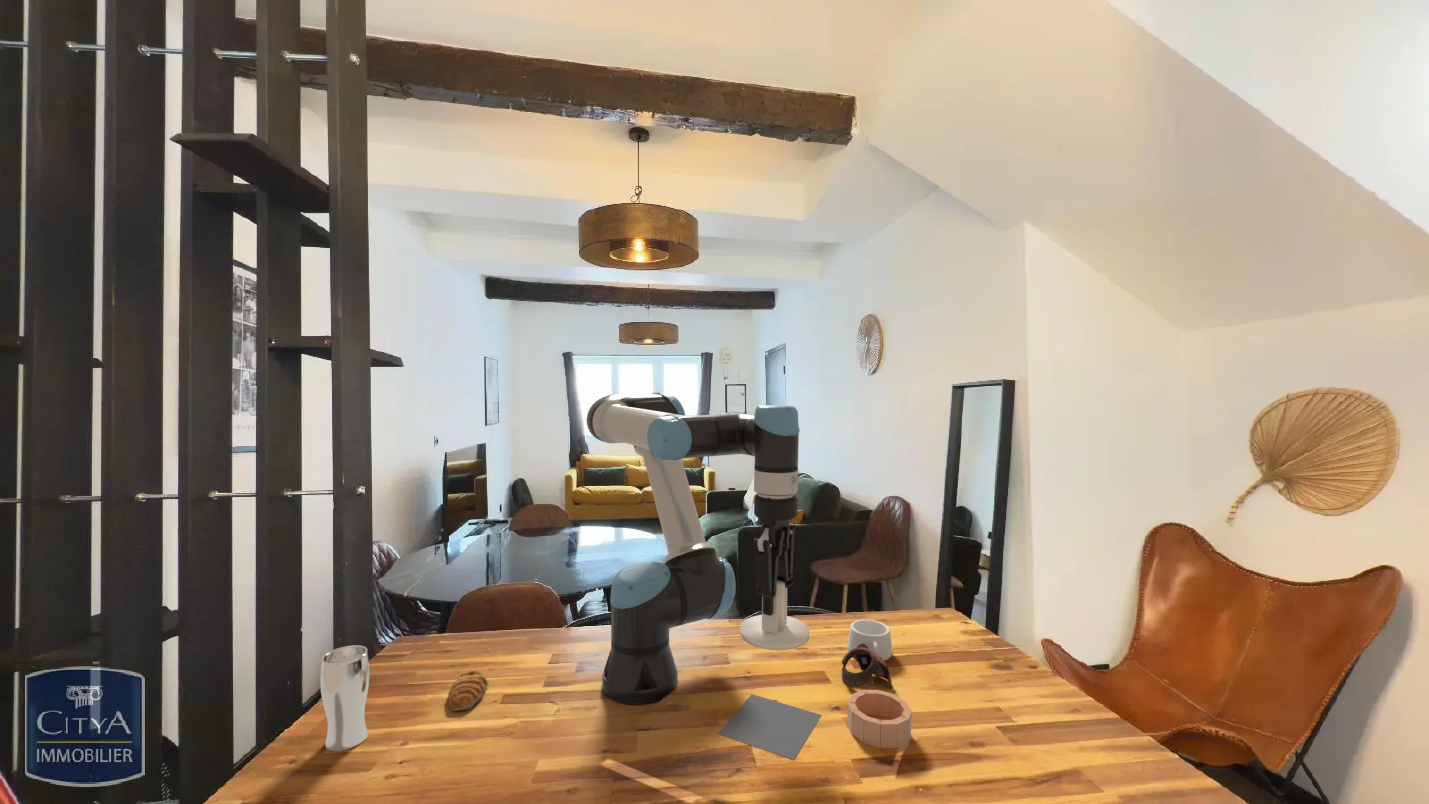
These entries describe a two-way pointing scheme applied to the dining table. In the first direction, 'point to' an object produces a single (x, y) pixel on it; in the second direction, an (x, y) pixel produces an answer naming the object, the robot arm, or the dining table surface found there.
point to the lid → (787, 634)
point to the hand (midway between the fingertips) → (774, 626)
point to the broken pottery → (865, 667)
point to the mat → (771, 726)
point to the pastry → (467, 690)
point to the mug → (871, 637)
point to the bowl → (879, 719)
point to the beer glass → (345, 696)
